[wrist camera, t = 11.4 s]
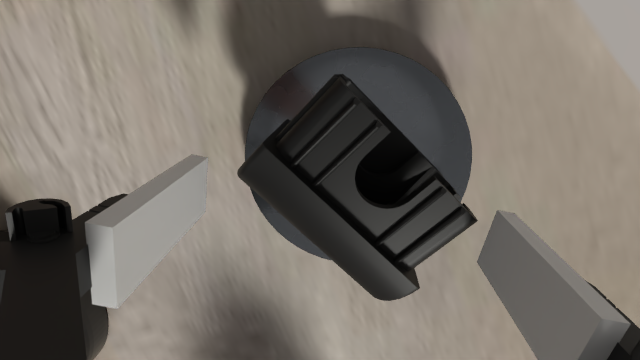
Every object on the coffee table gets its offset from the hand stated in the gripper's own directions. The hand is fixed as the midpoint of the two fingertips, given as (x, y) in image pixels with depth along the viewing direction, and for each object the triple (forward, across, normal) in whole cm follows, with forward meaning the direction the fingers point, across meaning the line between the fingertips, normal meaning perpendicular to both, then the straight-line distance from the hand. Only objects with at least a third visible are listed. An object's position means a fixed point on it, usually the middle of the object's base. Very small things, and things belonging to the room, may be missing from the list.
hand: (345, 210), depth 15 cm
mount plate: (+8, 0, 0) cm, 8 cm away
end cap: (+7, 0, 0) cm, 7 cm away
